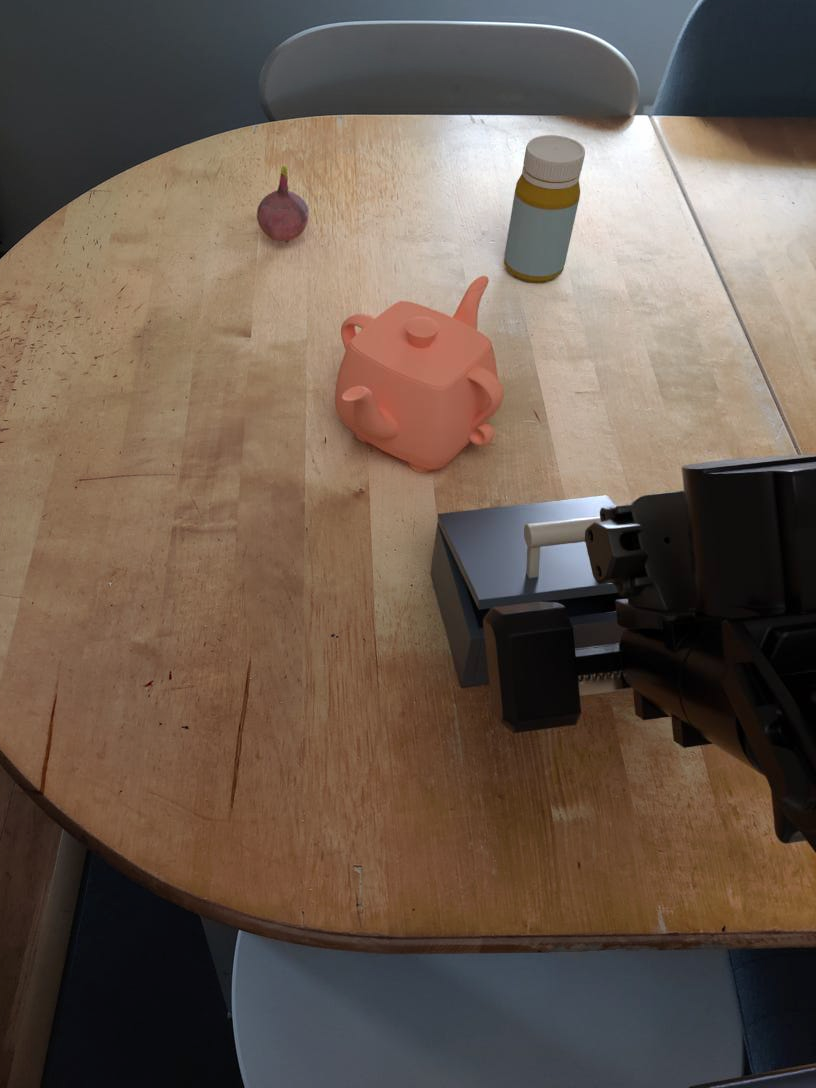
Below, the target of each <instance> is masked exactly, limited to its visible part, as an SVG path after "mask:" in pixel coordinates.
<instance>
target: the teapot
mask: <svg viewBox="0 0 816 1088" xmlns="http://www.w3.org/2000/svg"><path fill="white" fill-rule="evenodd" d="M489 283H490V282H489V277H488V276H487V275H481V276H479V277H477V278H476V279H475V280H473V281H472V282H471V283H470V285H469V286H468V287H467V289H466V291H465V293H464V295H463V296H462V299H461V300H460V302H459V305H458V306H457V308H456V310H455V312H454V314H453V316H451V315H448V314H445V313H444V312H441V311H438V310H436V309H433V308H430V307H428V306H425V305H422V304H419V303H415V302H412V301H408V300H399V301H397V302H395V303H394V304H393V305H390V306H389V307H388V308H386V309H385V310H384V311H383V312H381V313H380V314H379V315H378V316H376V317H374V316H372V315H370V314H368V313H364V312H363V313H362V312H360V313H359V312H358V313H354V314H351V315H349V316H348V317H347V318H346V319H345V320H343V322H342V324H341V327H340V337H341V341H342V344H343V347H344V349H345V352H344V354H343V357H342V360H341V363H340V365H339V370H338V373H337V377H336V384H335V392H334V407H335V410H336V412H337V415H338V416H339V418H340V420H341V421H342V423H343V424H344V425H345V426H346V427H347V428H348V429H350V430H351V431H352V432H354V435H355V437H356V439H357V440H358V441H360V442H361V443H367V444H368V443H369V444H371V445H372V446H374V447H376V448H377V449H378V450H381V451H383V452H385V453H387V454H389V455H391V456H393V457H395V458H398V459H400V460H402V461H405V462H407V464H408V466H409V467H410V468H411V469H412V470H413V471H415V472H419V473H427V472H429V471H432V470H440V469H441V468H444V467H445V466H446V465H447V464H448V463H449V462H450V461H452V460H453V459H454V458H455V457H456V456H457V455H458V454H460V453H461V451H462V450H463V449H464V448H465V447H466V446H467V445H468V444H469V443H470V442H471V443H473V444H474V445H476V446H481V447H482V446H483V447H484V446H487V445H489V444H491V443H492V442H493V440H494V438H495V437H496V431H495V429H494V427H493V426H492V425H491V424H489V423H487V421H488V420H489V419H490V418H492V417H493V416H494V415H495V414H496V412H497V411H499V409H500V407H501V406H502V404H503V401H504V397H505V392H504V388H503V386H502V383H501V382H500V380H499V379H498V378H499V377H498V367H497V362H496V360H497V359H496V355H495V349H494V346H493V341H492V340H491V339H490V338H489V337H488V336H486V335H485V334H483V333H482V332H480V331H479V330H478V318H479V309H480V303H481V301H482V298H483V297H482V296H483V295H484V294H485V291H486V289H487V288H488V285H489ZM356 327H357V328H360V329H361V330H360V331H358V332H357V331H356Z"/></svg>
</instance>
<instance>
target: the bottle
mask: <svg viewBox="0 0 816 1088" xmlns="http://www.w3.org/2000/svg"><path fill="white" fill-rule="evenodd" d="M585 156H586V150H585V147H584V145H582V143H580V142H579V141H577V140H575V139H573V138H570V137H567V136H564V135H557V134H556V135H555V134H546V135H540V136H536V137H533V138H532V139H530V140H529V141H528V142H527V144H526V146H525V151H524V157H523V166H522V170H521V174H520V176H519V178H518V180H516V184H515V188H514V194H513V201H512V207H511V211H510V212H511V213H510V219H509V225H508V231H507V238H506V243H505V249H504V250H505V251H504V257H503V265H504V266H505V267H504V268H505V269H506V270H507V271H508V273H509V274H511V275H512V276H513V277H514V278H516V279H518V280H519V281H523V282H527V283H534V284H540V283H547V282H550V281H553V280H554V279H556V278H557V277H558V276H560V275H561V274H562V272H563V271H564V270H565V269H564V268H565V265H566V261H567V257H568V252H569V247H570V243H571V238H572V234H573V229H574V224H575V221H576V216H577V212H578V206H579V203H580V197H581V186H580V177H581V174H582V170H583V165H584V160H585Z"/></svg>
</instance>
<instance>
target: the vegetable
mask: <svg viewBox="0 0 816 1088" xmlns="http://www.w3.org/2000/svg"><path fill="white" fill-rule="evenodd" d="M280 169H281V170H280V176H279V184H278V187H277V190H274V191H272V192H271V193H270V192H269V194H267V195H266V196H264V198H262V200H261V201H260V202H259V204H258V207H257V209H256V219H257V223H258V225H259V228H260V230H261V232H262V233H263V234H264V235H265V236H267V238H269V239H271V240H273V241H275V242H281V243H283V242H284V243H285V244H287V243H290V241H293V240H295V239H296V238H298V237H299V236H300V235H301V234H302V233H304V230H305V229H306V227H307V225H308V222H309V218H310V217H309V216H310V213H309V208H308V205H307V202H305V200H304V199H303V198H302V197H301V196H300V195H299V194H297V193H295V192H293V191H290V190H289V183H288V182H289V179H288V178H289V176H288V169H287V166H284V165H283V166H281V168H280Z"/></svg>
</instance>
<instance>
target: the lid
mask: <svg viewBox="0 0 816 1088" xmlns="http://www.w3.org/2000/svg"><path fill="white" fill-rule="evenodd" d="M611 506H617V505H616V504H615V502H613V500H612V499H611V498H610V497H609V496H608V495H606V494H605V495H603V494H602V495H596V496H586V497H578V498H577V497H576V498H568V499H558V500H551V501H541V502H533V503H523V504H513V505H505V506H497V507H486V508H480V509H479V508H477V509H470V510H460V511H450V512H443V513H437V522H438V524H439V526H440V528H441V530H442V532H443V534H444V537H445V539H446V541H447V543H448V545H449V547H450V549H451V551H452V554H453V556H454V558H455V560H456V562H457V564H458V566H459V569H460V571H461V573H462V575H463V577H464V579H465V581H466V583H467V586H468V588H469V590H470V592H471V594H472V596H473V598H474V601H475V603H476V605H477V607H478V609H479V610H480V609H488V608H492V607H501V606H509V605H516V604H524V603H532V602H540V601H549V600H562V599H570V598H578V597H586V596H594V595H602V594H611V593H618V591H617V587H616V586H615V585H614V584H613V583H603V584H599V583H598V582H597V581H596V580H595V578H594V577H593V573H592V569H591V565H590V560H589V556H588V552H587V547H586V543H585V531H586V529H587V528H588V527H589V526H590V525H591V524H593V523H594V522H601V519H600V510H601V508H603V507H611Z"/></svg>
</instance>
